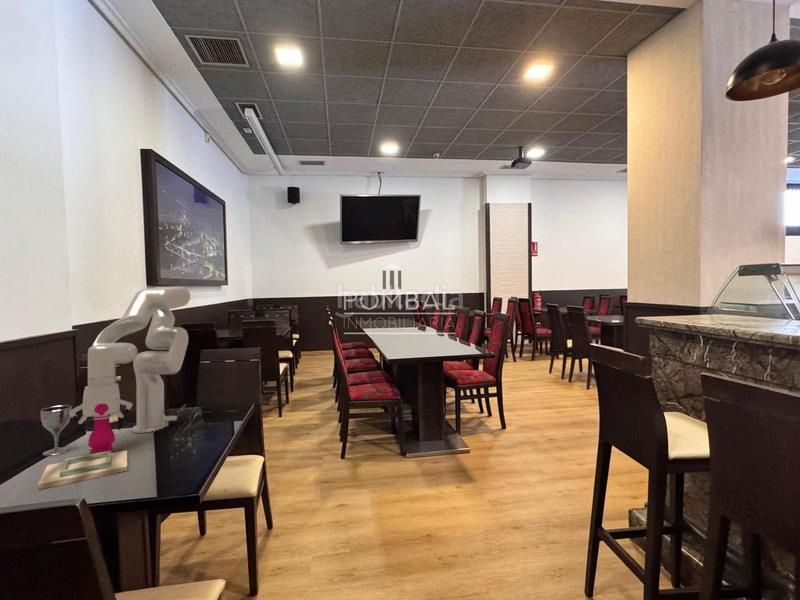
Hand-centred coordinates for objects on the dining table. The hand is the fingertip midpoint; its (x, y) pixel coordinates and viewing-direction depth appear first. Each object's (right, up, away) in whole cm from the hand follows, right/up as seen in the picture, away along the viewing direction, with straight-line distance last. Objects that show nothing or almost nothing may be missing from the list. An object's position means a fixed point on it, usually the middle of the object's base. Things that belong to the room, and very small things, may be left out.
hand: (101, 431), depth 132 cm
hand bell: (-26, -8, +38) cm, 47 cm away
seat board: (+6, -7, -14) cm, 17 cm away
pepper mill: (0, -8, 0) cm, 8 cm away
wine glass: (-17, -8, +2) cm, 19 cm away
